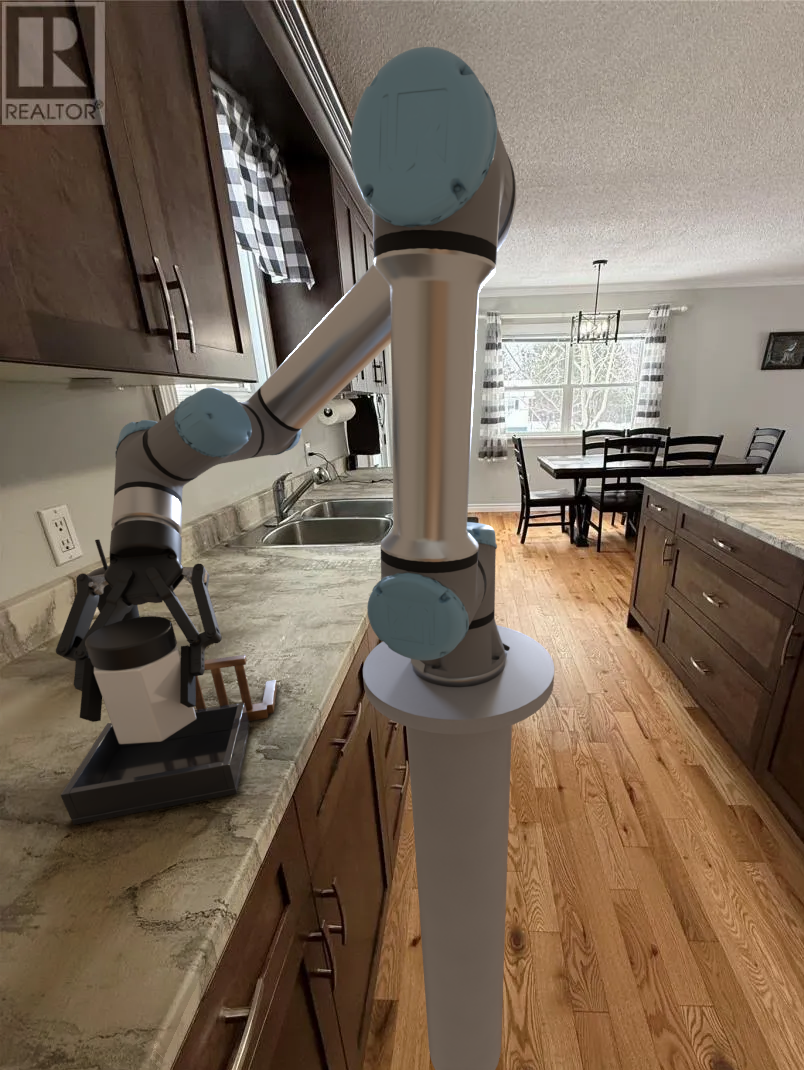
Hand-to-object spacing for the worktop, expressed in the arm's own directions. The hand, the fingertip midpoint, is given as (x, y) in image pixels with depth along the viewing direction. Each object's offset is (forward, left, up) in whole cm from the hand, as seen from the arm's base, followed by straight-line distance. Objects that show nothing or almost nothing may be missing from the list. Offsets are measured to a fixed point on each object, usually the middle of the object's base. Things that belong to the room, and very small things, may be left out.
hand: (140, 711), depth 52 cm
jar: (0, -3, -4) cm, 5 cm away
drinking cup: (+18, -45, -11) cm, 50 cm away
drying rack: (-2, -15, -11) cm, 19 cm away
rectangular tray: (0, -3, -11) cm, 11 cm away
